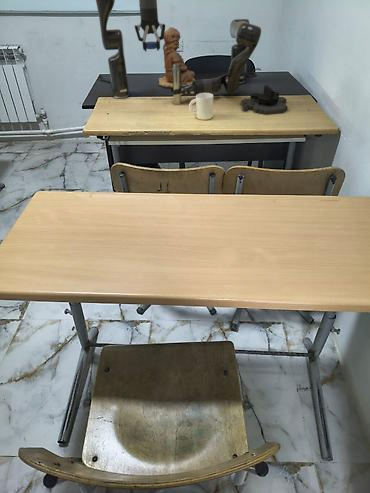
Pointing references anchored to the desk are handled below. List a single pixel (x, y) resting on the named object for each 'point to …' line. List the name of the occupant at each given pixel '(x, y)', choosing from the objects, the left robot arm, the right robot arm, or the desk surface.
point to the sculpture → (174, 60)
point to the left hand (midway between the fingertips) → (151, 50)
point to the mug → (203, 106)
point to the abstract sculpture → (265, 102)
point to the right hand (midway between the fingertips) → (172, 91)
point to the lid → (151, 45)
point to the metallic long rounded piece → (176, 82)
